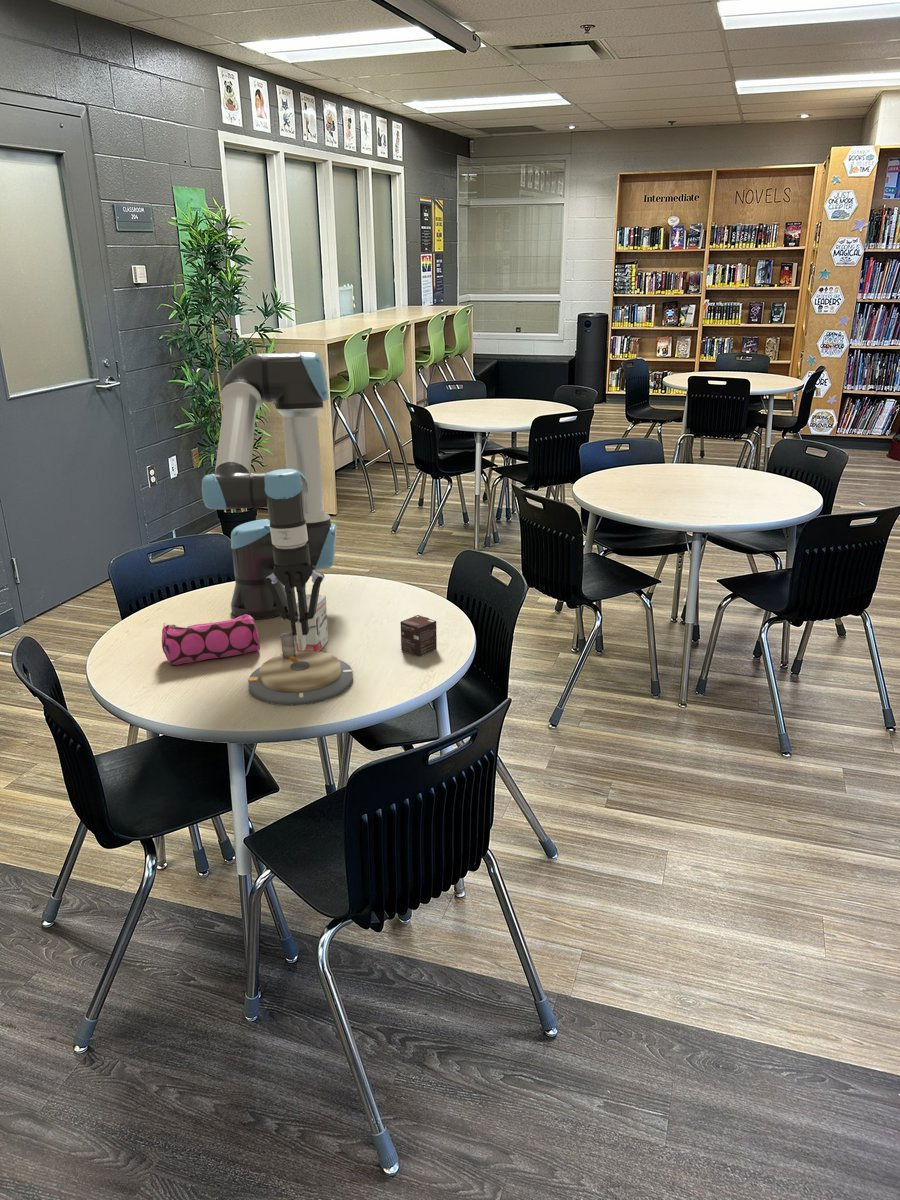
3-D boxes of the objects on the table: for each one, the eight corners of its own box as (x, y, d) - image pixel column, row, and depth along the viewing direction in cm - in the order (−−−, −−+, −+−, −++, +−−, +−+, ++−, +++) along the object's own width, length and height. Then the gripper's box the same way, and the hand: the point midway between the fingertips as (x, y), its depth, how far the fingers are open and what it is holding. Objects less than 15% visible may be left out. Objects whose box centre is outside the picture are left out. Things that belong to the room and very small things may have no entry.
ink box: (317, 655, 204) (313, 606, 200) (296, 654, 205) (292, 605, 201) (329, 641, 212) (326, 594, 208) (309, 640, 213) (306, 593, 209)
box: (400, 651, 205) (399, 621, 203) (419, 643, 209) (417, 614, 207) (419, 657, 201) (418, 627, 199) (437, 649, 205) (436, 620, 203)
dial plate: (251, 666, 199) (250, 658, 198) (349, 657, 202) (349, 650, 201) (246, 709, 178) (245, 701, 178) (356, 699, 182) (355, 691, 181)
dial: (250, 670, 193) (246, 640, 190) (323, 653, 200) (321, 624, 198) (275, 699, 179) (272, 667, 176) (353, 680, 186) (351, 650, 184)
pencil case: (168, 674, 196) (162, 632, 193) (162, 658, 204) (156, 617, 201) (264, 656, 204) (260, 615, 201) (255, 642, 212) (251, 602, 209)
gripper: (256, 550, 184) (269, 655, 191) (315, 548, 183) (327, 654, 190) (265, 540, 191) (278, 642, 198) (323, 538, 190) (334, 641, 197)
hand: (302, 648), depth 194 cm, fingers closed
